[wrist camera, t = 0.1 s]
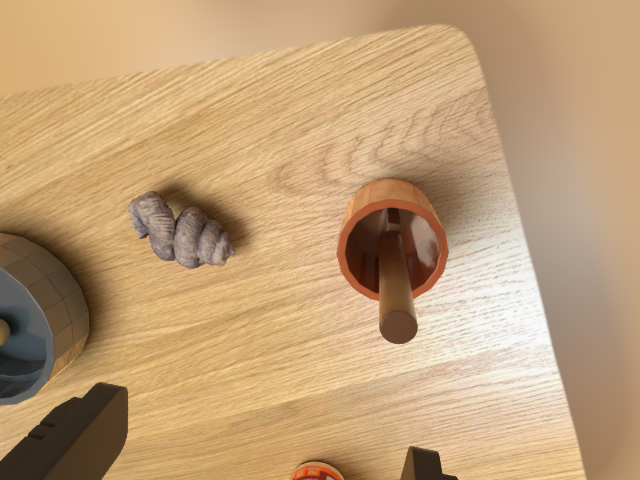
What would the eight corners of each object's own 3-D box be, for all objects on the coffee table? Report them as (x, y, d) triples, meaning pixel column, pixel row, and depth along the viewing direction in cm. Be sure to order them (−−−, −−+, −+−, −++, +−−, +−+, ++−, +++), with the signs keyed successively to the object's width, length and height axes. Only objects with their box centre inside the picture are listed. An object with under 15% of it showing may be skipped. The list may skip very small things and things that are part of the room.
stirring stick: (381, 205, 38) (385, 296, 21) (403, 208, 38) (424, 303, 21) (375, 238, 39) (374, 351, 22) (396, 242, 39) (410, 358, 22)
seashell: (145, 208, 43) (245, 241, 43) (116, 255, 40) (225, 290, 40) (135, 172, 38) (248, 209, 38) (102, 222, 35) (225, 261, 35)
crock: (352, 171, 38) (346, 191, 31) (443, 186, 38) (459, 210, 30) (338, 254, 41) (330, 292, 33) (423, 269, 40) (434, 311, 32)
